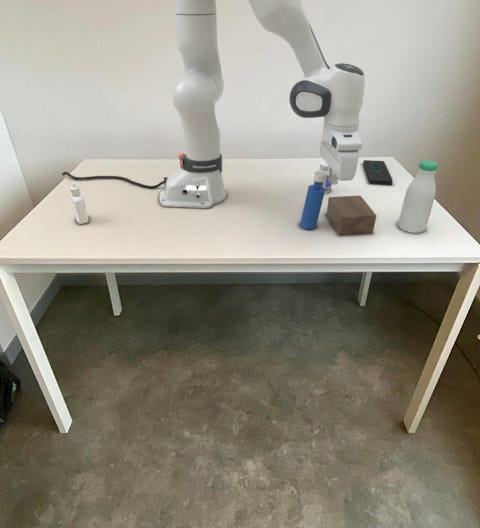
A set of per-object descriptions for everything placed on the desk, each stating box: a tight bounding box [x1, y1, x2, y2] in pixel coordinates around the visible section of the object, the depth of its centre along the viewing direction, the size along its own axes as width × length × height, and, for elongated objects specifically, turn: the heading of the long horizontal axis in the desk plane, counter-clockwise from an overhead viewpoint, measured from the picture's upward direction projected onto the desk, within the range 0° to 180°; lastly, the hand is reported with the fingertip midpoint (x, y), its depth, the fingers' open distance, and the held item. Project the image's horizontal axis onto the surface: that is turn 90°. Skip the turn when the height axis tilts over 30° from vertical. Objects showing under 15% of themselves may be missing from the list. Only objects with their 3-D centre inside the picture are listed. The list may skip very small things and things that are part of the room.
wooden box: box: [326, 195, 377, 236], centre depth 120 cm, size 10×13×6 cm
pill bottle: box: [317, 161, 333, 194], centre depth 139 cm, size 5×5×10 cm
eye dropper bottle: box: [69, 182, 89, 225], centre depth 120 cm, size 4×6×12 cm
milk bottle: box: [397, 159, 439, 234], centre depth 115 cm, size 8×8×20 cm
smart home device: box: [362, 159, 394, 186], centre depth 153 cm, size 8×2×20 cm
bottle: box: [299, 171, 326, 230], centre depth 116 cm, size 14×5×15 cm
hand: (332, 182), depth 114 cm, fingers closed
